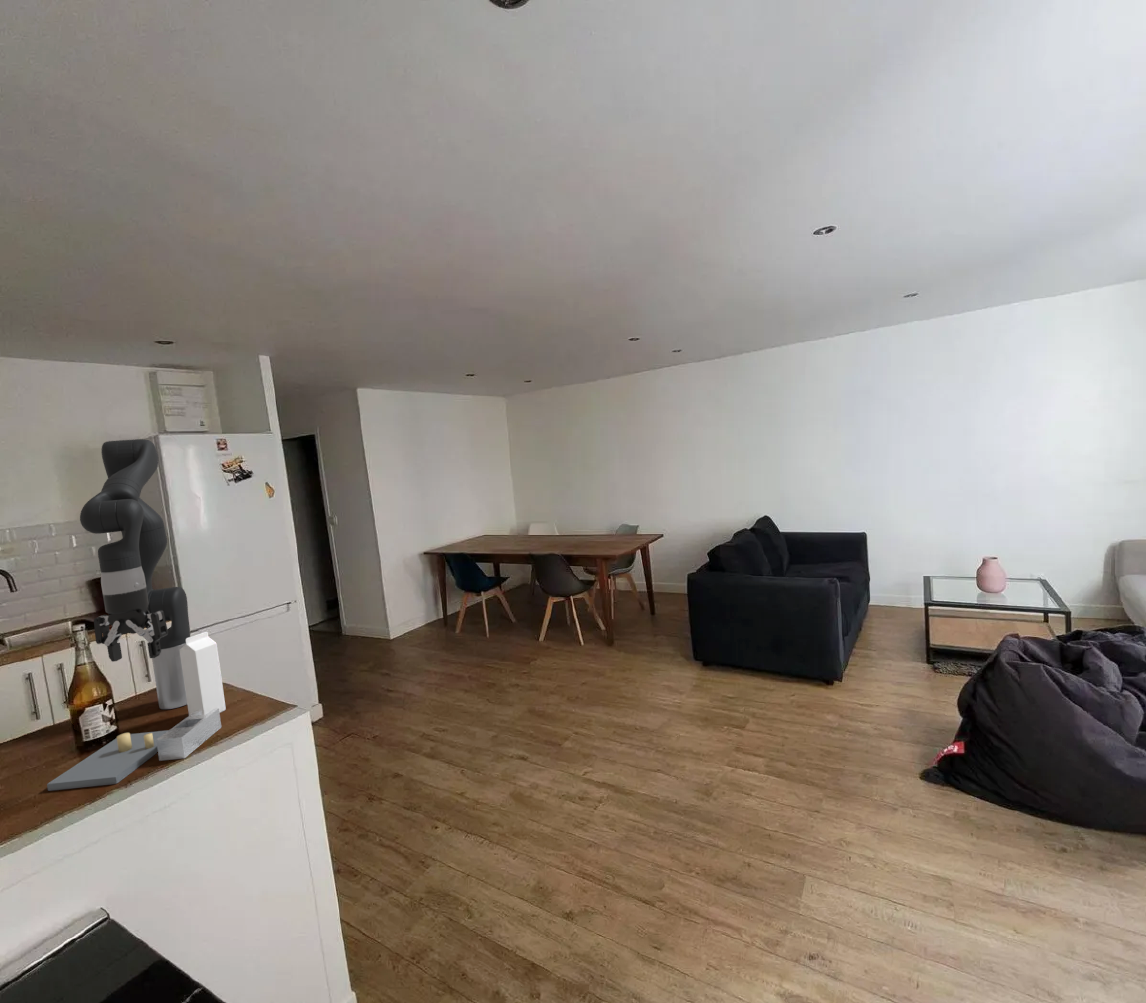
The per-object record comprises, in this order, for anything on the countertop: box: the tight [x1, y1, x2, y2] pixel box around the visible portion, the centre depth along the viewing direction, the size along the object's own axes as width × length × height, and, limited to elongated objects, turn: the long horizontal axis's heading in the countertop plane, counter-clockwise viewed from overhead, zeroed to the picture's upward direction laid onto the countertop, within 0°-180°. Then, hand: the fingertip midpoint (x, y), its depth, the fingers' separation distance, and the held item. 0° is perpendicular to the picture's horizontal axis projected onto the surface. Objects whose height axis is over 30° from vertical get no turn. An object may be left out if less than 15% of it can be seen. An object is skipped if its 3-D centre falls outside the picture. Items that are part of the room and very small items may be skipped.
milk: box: [180, 631, 227, 716], centre depth 143 cm, size 6×6×22 cm
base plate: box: [46, 729, 170, 791], centre depth 123 cm, size 20×14×5 cm
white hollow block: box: [156, 708, 222, 762], centre depth 128 cm, size 14×6×5 cm, turn 3°
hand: (135, 658), depth 121 cm, fingers open, 8 cm apart
